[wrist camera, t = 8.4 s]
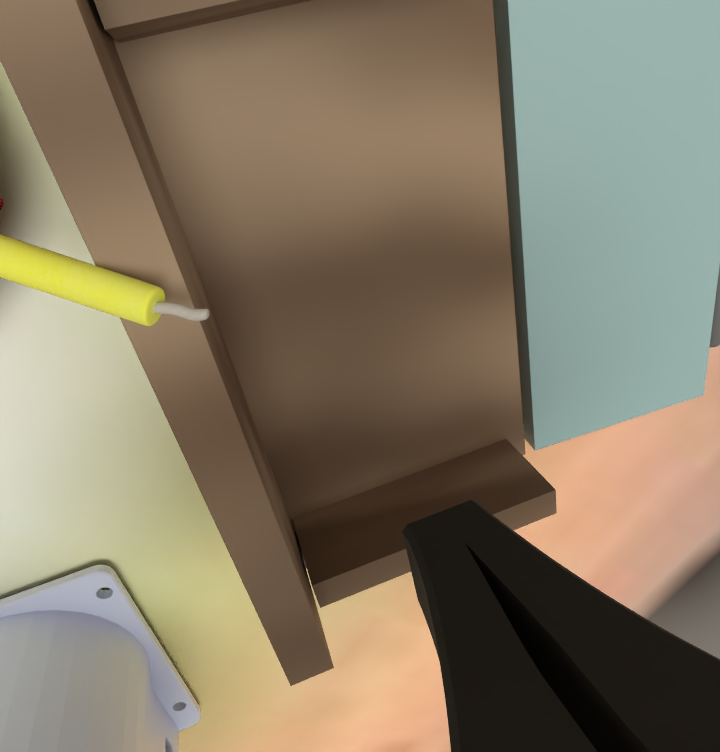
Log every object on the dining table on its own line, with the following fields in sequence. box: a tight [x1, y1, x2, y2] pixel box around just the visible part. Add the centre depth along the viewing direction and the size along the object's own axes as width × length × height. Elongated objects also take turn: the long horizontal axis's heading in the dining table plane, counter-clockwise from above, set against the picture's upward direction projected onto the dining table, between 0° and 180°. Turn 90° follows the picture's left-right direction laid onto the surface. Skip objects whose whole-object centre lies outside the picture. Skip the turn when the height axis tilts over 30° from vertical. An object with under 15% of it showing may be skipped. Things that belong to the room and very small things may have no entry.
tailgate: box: [493, 0, 720, 450], centre depth 17 cm, size 16×1×8 cm
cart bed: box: [0, 0, 556, 686], centre depth 14 cm, size 18×10×6 cm, turn 12°
